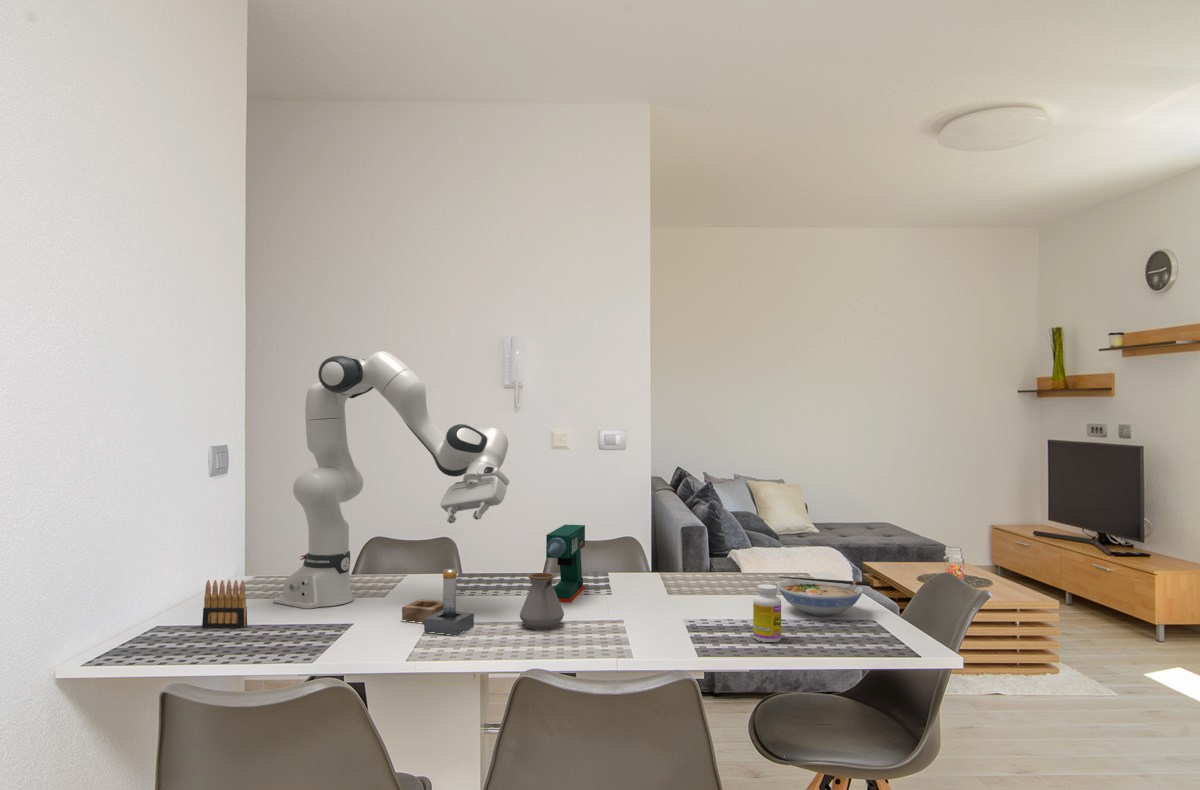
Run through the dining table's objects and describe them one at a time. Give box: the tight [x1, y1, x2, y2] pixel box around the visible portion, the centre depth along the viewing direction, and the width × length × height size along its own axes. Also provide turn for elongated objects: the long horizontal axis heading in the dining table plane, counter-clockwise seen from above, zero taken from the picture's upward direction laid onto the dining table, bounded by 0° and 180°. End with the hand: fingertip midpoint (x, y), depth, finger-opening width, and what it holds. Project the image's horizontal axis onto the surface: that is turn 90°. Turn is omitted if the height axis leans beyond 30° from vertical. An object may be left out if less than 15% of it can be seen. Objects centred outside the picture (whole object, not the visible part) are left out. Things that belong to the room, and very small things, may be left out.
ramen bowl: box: [777, 576, 871, 617], centre depth 208 cm, size 25×23×8 cm
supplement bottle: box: [752, 583, 782, 643], centre depth 183 cm, size 7×7×13 cm
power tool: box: [545, 524, 586, 604], centre depth 221 cm, size 32×7×20 cm, turn 168°
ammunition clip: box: [201, 579, 248, 629], centre depth 192 cm, size 11×2×12 cm, turn 90°
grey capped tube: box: [442, 568, 458, 619], centre depth 190 cm, size 3×3×15 cm
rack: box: [401, 598, 443, 623], centre depth 200 cm, size 9×9×4 cm
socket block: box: [423, 610, 475, 636], centre depth 190 cm, size 9×9×4 cm
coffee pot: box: [519, 572, 565, 630], centre depth 190 cm, size 21×12×15 cm, turn 11°
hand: (463, 520), depth 202 cm, fingers open, 8 cm apart
